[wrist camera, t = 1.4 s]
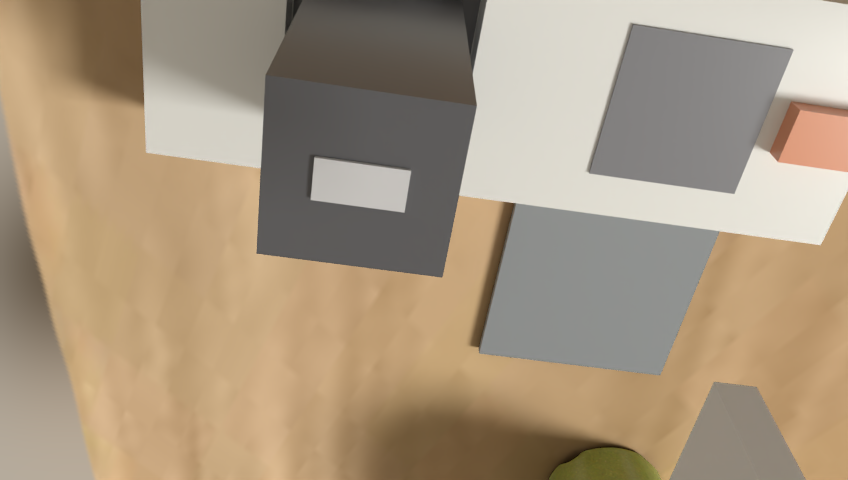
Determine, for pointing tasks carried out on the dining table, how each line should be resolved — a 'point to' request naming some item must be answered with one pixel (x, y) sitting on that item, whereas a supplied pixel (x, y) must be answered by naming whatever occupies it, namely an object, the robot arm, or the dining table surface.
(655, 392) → the dining table surface
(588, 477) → the plant pot
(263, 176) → the block
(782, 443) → the robot arm
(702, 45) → the power strip
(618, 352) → the pad
